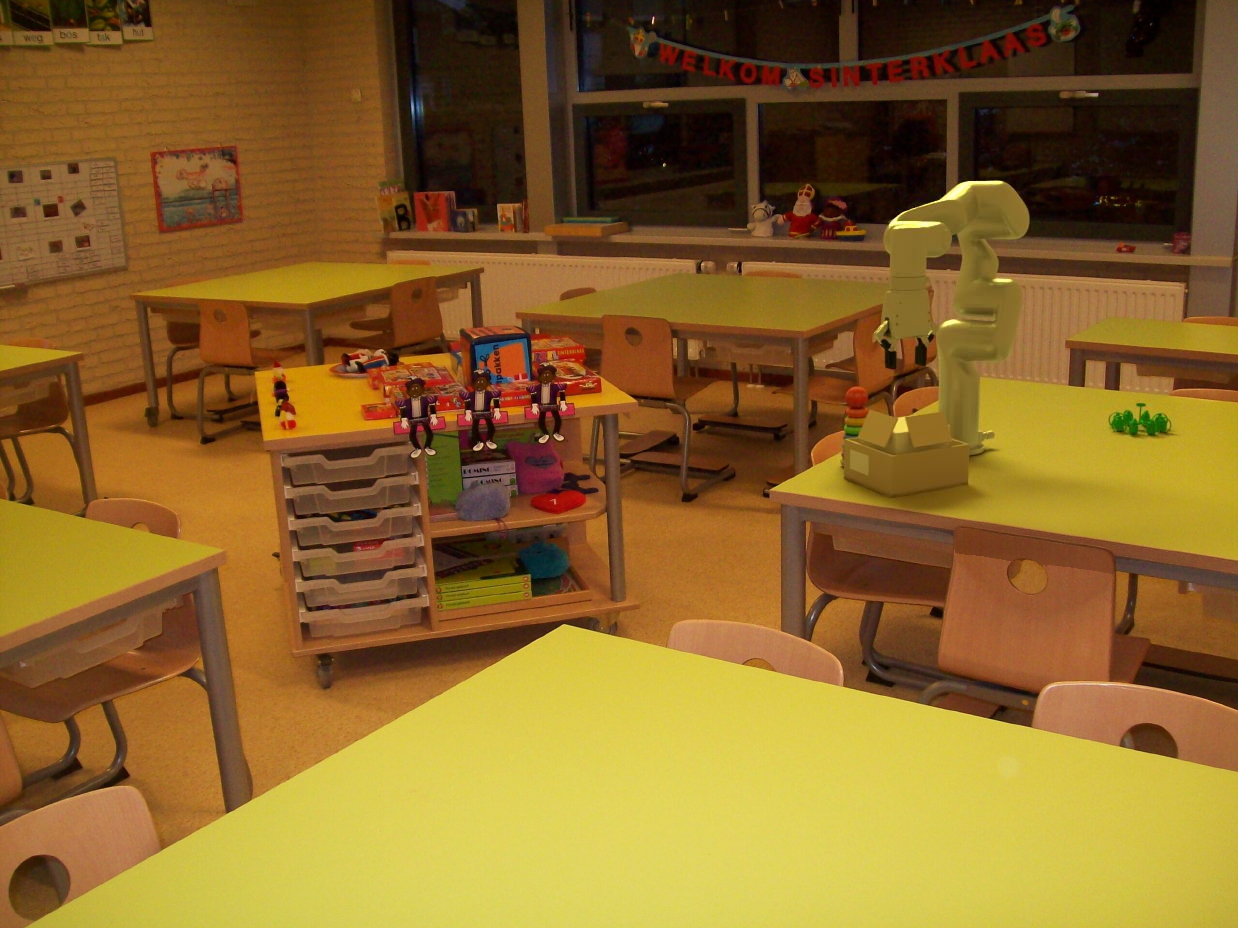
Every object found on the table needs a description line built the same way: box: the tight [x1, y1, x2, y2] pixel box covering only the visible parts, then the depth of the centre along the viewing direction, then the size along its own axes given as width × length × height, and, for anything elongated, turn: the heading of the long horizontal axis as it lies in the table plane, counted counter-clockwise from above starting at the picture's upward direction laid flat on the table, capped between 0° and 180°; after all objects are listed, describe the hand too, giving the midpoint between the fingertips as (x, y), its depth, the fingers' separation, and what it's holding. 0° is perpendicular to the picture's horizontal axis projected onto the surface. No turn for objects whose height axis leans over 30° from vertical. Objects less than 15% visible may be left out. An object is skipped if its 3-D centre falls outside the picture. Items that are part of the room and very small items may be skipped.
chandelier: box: [1108, 402, 1172, 436], centre depth 307 cm, size 15×15×7 cm
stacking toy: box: [840, 386, 869, 468], centre depth 282 cm, size 8×8×19 cm
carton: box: [843, 414, 970, 498], centre depth 269 cm, size 21×19×13 cm
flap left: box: [904, 411, 952, 448], centre depth 262 cm, size 10×7×1 cm
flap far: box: [858, 409, 899, 448], centre depth 264 cm, size 10×7×1 cm
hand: (905, 366), depth 264 cm, fingers open, 7 cm apart
